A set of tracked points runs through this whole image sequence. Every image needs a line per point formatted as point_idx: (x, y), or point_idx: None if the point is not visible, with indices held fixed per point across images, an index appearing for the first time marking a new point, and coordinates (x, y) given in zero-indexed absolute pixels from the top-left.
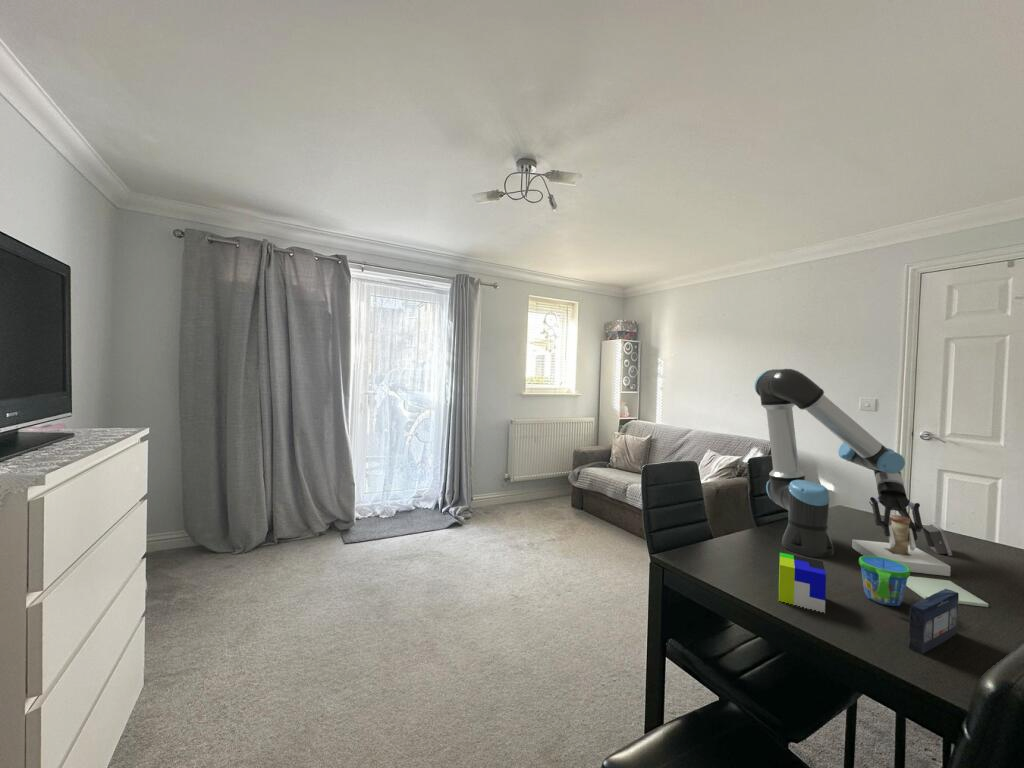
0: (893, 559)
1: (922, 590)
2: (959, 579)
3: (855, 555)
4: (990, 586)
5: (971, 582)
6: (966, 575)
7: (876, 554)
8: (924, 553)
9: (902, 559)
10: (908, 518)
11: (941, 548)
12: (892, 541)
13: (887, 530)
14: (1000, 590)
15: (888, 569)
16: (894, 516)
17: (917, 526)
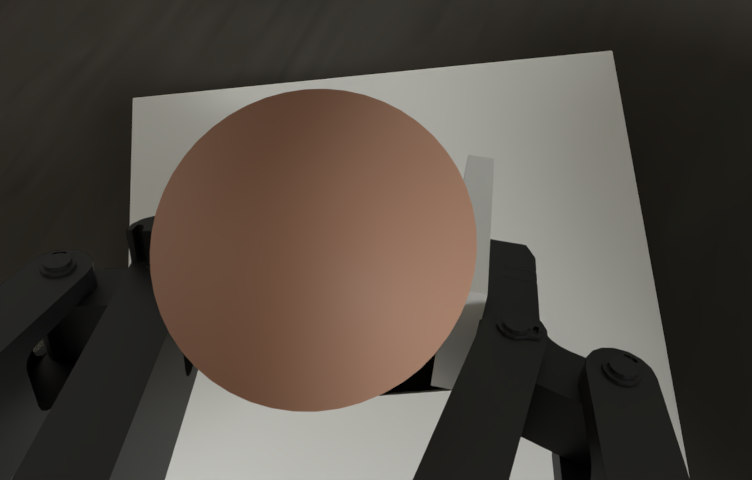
0: (517, 83)
1: None
2: (139, 94)
3: (700, 327)
4: (20, 48)
5: (95, 70)
6: (37, 192)
7: (616, 157)
8: None
9: (439, 115)
10: (177, 219)
11: None
12: (490, 165)
13: (506, 276)
14: (7, 6)
15: None
16: (410, 265)
17: (87, 284)
